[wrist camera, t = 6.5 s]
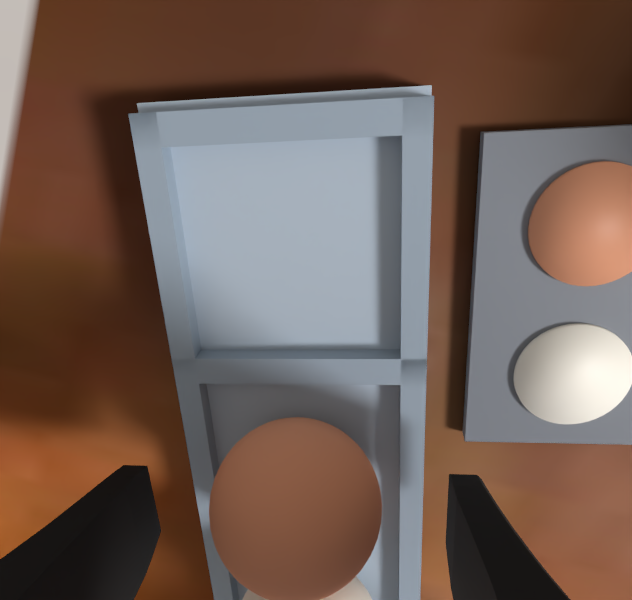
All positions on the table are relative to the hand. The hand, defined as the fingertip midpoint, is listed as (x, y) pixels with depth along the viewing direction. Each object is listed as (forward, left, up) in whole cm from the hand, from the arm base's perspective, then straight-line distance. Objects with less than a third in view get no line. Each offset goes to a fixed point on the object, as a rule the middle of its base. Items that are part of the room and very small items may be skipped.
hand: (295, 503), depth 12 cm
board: (0, +1, -3) cm, 3 cm away
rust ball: (0, 0, -2) cm, 2 cm away
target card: (-7, -4, -3) cm, 8 cm away
